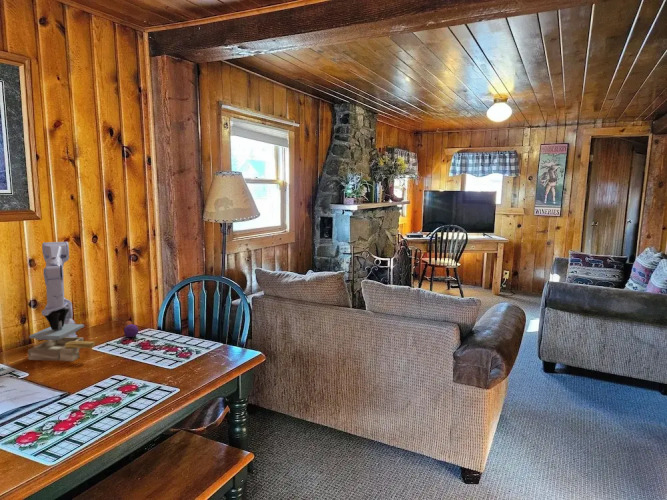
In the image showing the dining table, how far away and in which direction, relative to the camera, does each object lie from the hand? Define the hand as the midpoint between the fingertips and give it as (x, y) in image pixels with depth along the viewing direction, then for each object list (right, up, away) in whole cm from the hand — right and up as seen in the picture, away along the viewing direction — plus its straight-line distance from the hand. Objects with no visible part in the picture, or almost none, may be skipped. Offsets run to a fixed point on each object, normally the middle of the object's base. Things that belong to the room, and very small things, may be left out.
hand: (57, 328), depth 175 cm
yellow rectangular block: (+13, -6, -6) cm, 16 cm away
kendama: (+16, -8, +28) cm, 33 cm away
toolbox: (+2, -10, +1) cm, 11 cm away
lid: (0, -3, 0) cm, 3 cm away
